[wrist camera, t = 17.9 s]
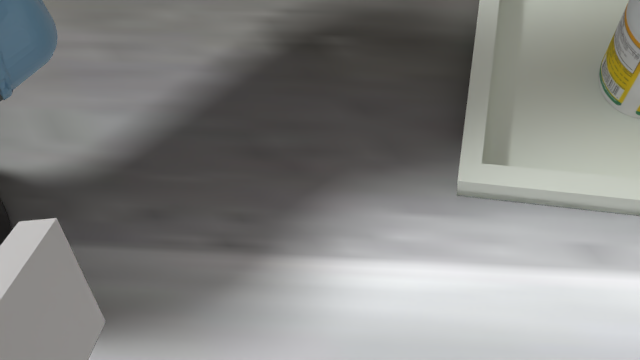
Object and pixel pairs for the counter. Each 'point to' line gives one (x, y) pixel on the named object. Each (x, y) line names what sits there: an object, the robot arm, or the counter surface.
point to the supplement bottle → (623, 64)
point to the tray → (547, 109)
